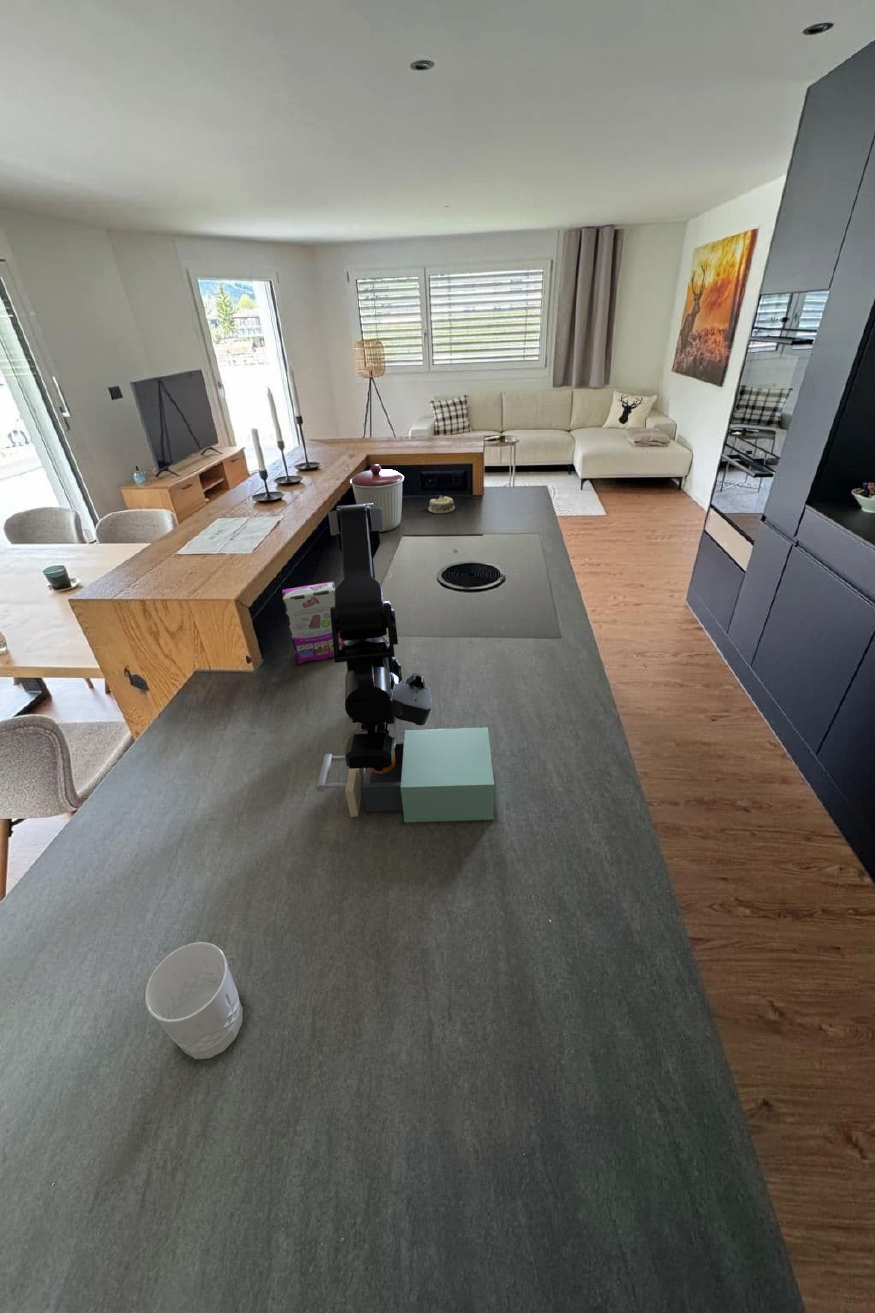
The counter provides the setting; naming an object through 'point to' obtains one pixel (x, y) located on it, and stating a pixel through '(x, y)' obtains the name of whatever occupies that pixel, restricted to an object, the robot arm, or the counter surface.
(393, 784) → the drawer
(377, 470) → the canister
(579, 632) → the counter surface
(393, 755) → the coffee pod
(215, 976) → the white cup
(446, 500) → the cake
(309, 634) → the candy bar box
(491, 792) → the pale green block
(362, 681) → the robot arm
